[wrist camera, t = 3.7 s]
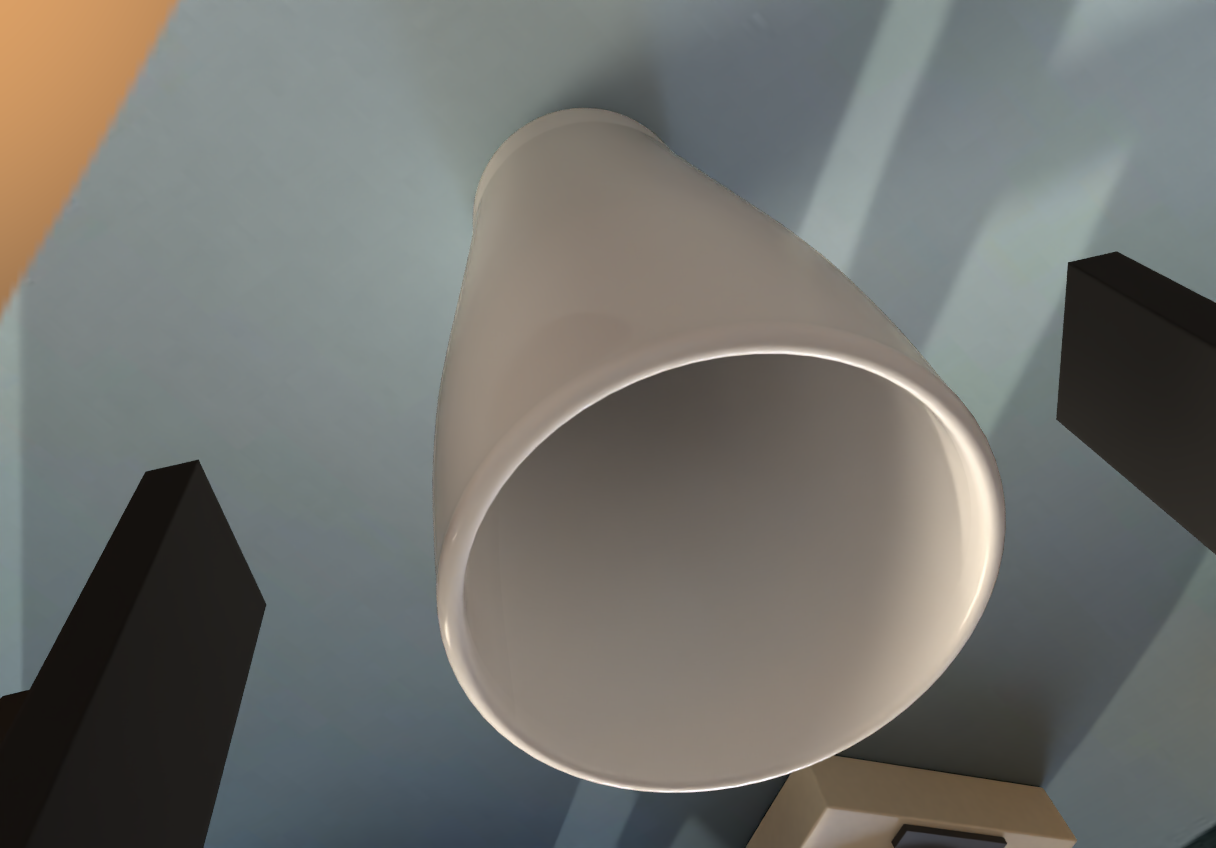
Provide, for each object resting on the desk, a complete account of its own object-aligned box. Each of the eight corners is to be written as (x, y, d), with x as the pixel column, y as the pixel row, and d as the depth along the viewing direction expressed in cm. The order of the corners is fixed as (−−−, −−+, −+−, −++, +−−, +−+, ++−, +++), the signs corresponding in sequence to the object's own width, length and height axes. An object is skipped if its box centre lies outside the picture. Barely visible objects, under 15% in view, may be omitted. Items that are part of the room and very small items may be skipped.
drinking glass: (427, 318, 24) (396, 797, 11) (462, 43, 21) (474, 273, 8) (676, 351, 26) (899, 810, 13) (743, 99, 23) (1121, 368, 10)
